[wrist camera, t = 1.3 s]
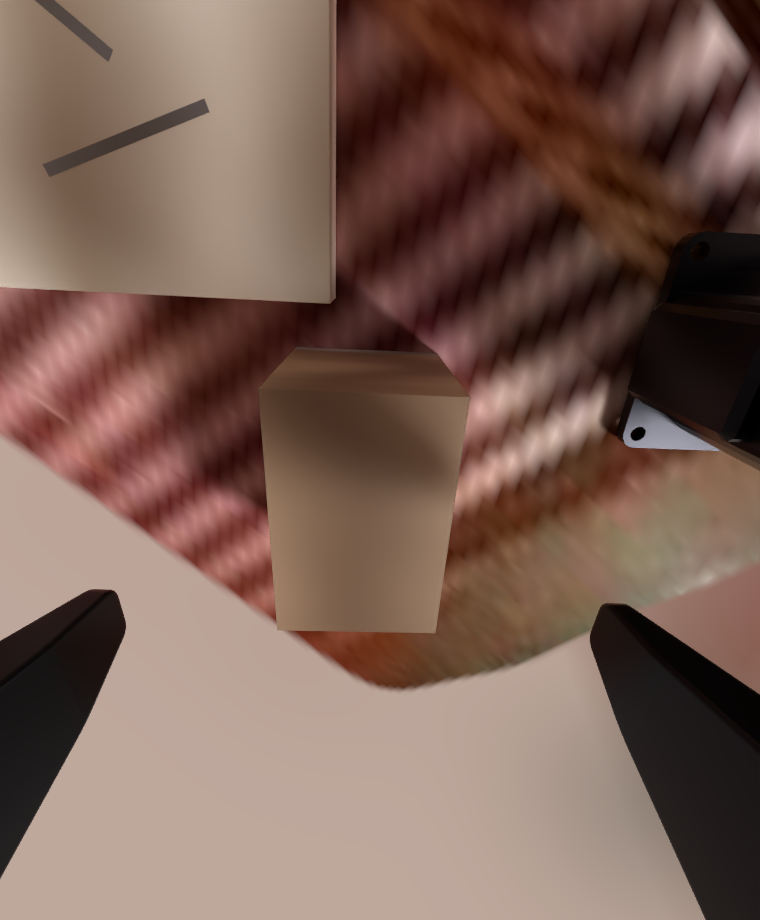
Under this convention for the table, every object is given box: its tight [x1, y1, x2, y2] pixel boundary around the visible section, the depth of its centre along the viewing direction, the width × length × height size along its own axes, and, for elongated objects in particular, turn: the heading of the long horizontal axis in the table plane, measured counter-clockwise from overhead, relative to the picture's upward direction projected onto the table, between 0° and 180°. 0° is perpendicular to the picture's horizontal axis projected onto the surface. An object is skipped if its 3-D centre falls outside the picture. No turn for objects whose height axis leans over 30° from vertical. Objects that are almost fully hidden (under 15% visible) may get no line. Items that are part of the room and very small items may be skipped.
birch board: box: [0, 0, 337, 304], centre depth 9 cm, size 10×10×2 cm
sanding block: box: [258, 347, 470, 633], centre depth 12 cm, size 4×7×5 cm, turn 177°
